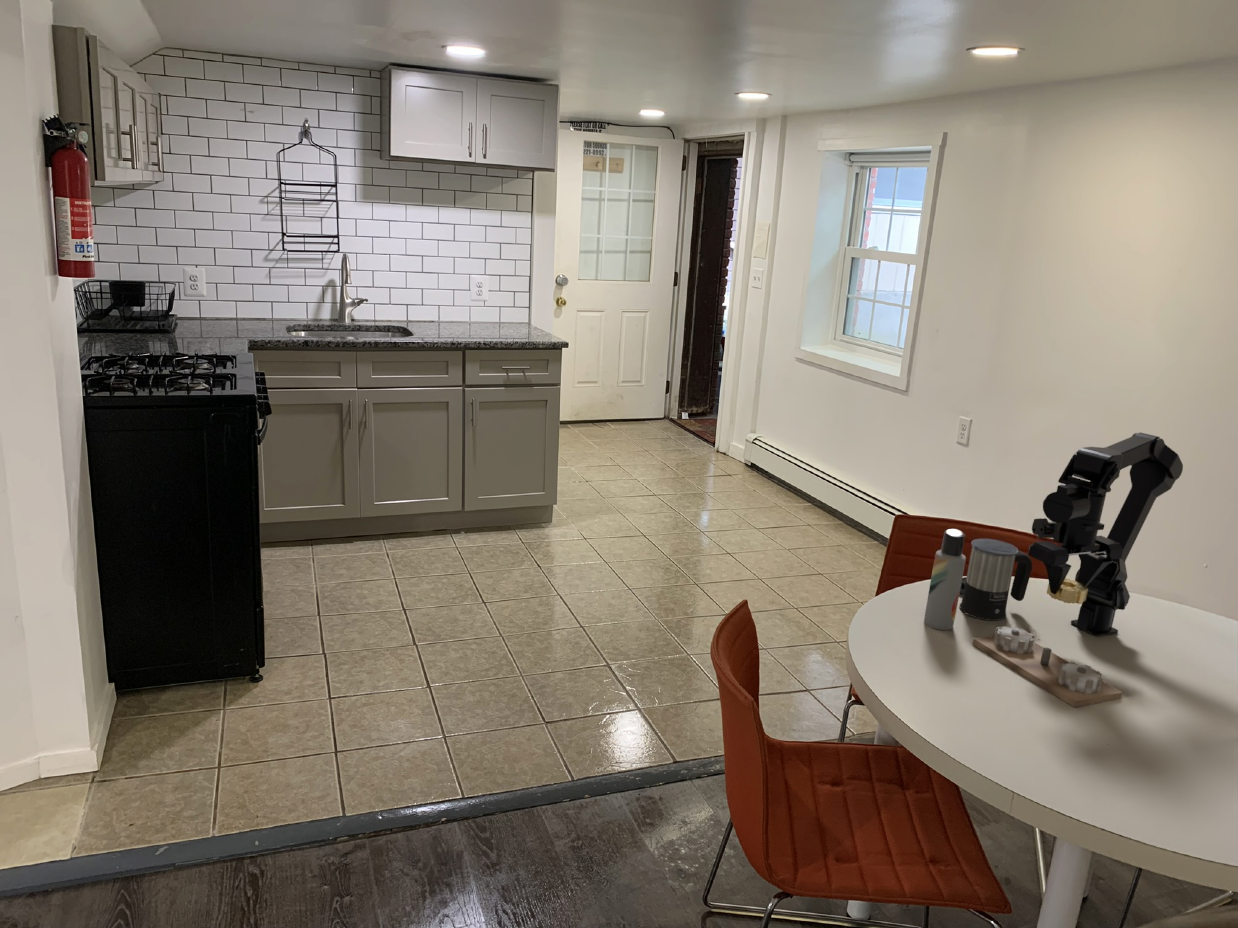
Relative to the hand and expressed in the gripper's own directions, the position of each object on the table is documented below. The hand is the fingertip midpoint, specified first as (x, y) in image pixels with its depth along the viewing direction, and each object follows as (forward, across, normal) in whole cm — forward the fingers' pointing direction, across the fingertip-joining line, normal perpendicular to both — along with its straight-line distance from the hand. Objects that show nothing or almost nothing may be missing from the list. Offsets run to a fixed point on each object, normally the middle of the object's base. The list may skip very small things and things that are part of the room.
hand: (1066, 591), depth 178 cm
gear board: (+11, +12, +8) cm, 18 cm away
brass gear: (+1, 0, 0) cm, 1 cm away
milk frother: (+11, +2, -19) cm, 22 cm away
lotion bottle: (+11, +18, -13) cm, 25 cm away
